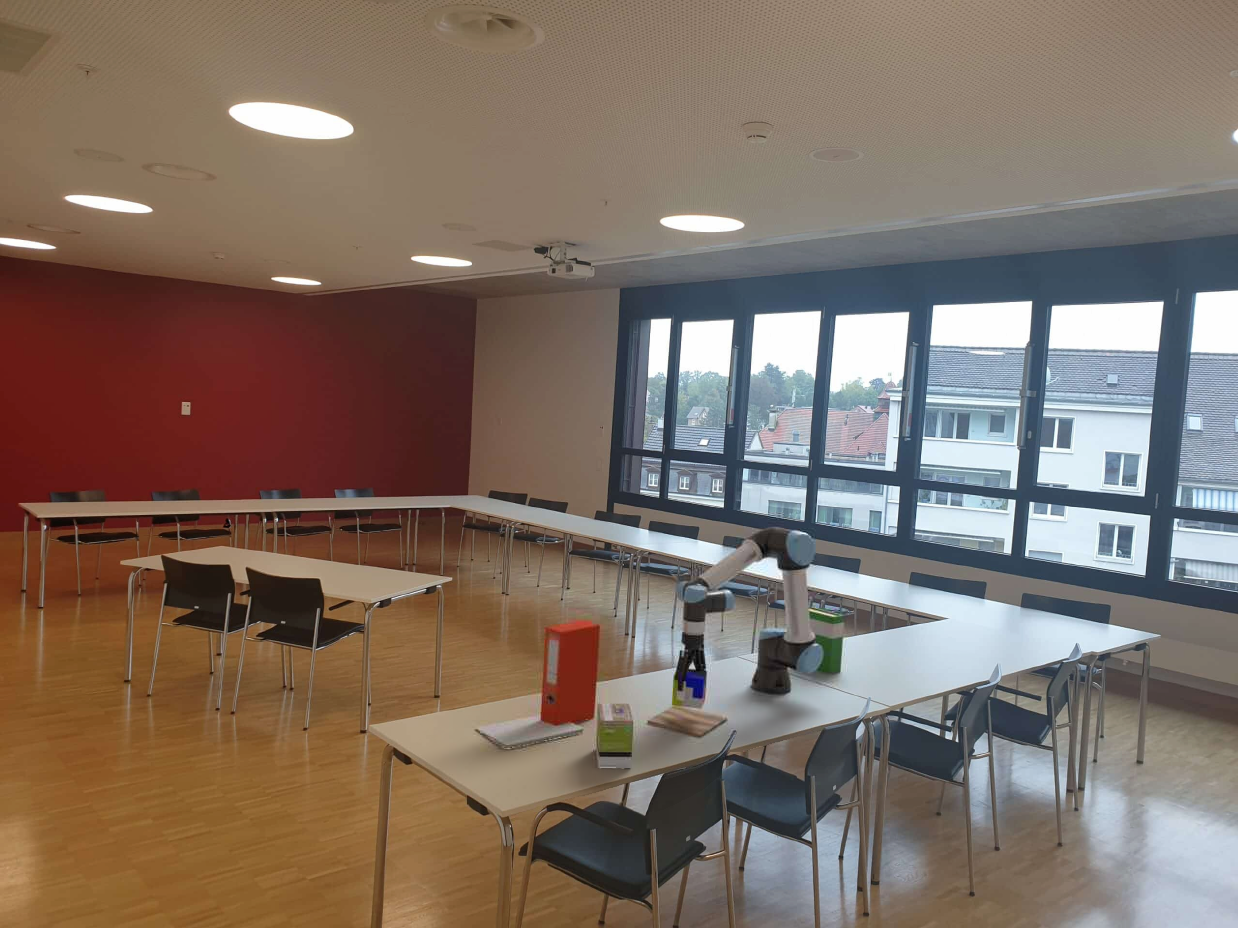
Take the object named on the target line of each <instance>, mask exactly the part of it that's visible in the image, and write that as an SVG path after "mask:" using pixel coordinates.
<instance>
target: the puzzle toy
mask: <svg viewBox="0 0 1238 928" xmlns="http://www.w3.org/2000/svg"><path fill="white" fill-rule="evenodd" d="M675 673H676V671H675V672H674V674H673V682H672V695H671V696H672V697H671V700H672V701H671V705H672V706H682V707H686V708H690V709H698V710H699V709H700V710H702V708H703V706H704V704H705V702H706V691H707V677H708V676H707V675H708V674H707V673H708V671H707V670H706V671H703V670H696V669H695V668H689V669H688V672H687V675H686V678H685V681H686V689H685V701H681V700H677V683H678V681H677V680H674V677H675Z"/></svg>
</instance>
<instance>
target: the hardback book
mask: <svg viewBox="0 0 1238 928" xmlns="http://www.w3.org/2000/svg"><path fill="white" fill-rule="evenodd" d="M809 617H810V629H811V631H812V632H813V633H814V634H815V639H816V643H817V644H819V645H820V646H821V647H822V649H823V659H822V662H821V664H820V665H819V667H818V668H817V669H816V670H815V671H817V672H821V673H824V674H827V675H833V674H837V673H841V671H842V670H841V668H842V658H843V657H842V656H843V642H844V632H845V631H844V630H845V615H844V614H842V613H836V612H833V611H828V610H824V609H821V608H818V607H813V606H809Z"/></svg>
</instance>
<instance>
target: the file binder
mask: <svg viewBox="0 0 1238 928" xmlns="http://www.w3.org/2000/svg"><path fill="white" fill-rule="evenodd" d="M600 628H601V624H598V623H595V622H593V621H588V620H585V619H583V620H578V621H571V622H567V623H562V624H556V625H549V626H546V627H545V634H544V635H545V637H544V651H543V652H544V653H543V654H544V655H543V668H542V669H543V670H542V687H541V703H540V704H541V705H540V715H541V719H540V720H541V721H544V722H547V723H549V724H552V725H555V726H557V725H561V724H565V723H568V722H571V723H575V724H577V723H576V722H578V723H580V721H582V722H584V721H583V720H585V721H587V720H586V719H588V720H591V719H590V718H592V719H594V718H595V713H596V699H597V698H596V696H597V681H598V679H597V678H598V664H599V647H600V645H599V644H600V633H601V629H600Z"/></svg>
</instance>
